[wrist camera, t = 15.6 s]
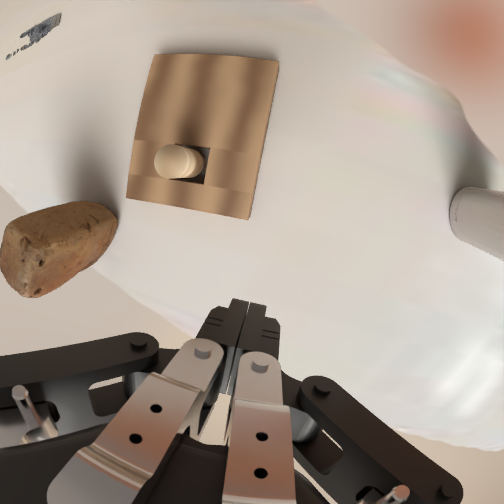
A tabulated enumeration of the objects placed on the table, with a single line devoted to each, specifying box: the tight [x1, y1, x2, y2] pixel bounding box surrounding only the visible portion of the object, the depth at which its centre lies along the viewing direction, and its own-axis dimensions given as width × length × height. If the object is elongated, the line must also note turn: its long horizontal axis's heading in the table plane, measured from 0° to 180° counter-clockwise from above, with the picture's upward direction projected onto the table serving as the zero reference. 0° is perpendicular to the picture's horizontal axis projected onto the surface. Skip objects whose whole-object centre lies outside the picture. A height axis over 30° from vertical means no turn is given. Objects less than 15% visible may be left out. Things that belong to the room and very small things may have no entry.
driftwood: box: [6, 13, 61, 60], centre depth 31 cm, size 21×7×2 cm, turn 84°
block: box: [0, 201, 118, 298], centre depth 32 cm, size 11×8×20 cm
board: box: [126, 54, 279, 220], centre depth 35 cm, size 18×22×3 cm
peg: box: [154, 144, 206, 179], centre depth 33 cm, size 4×4×10 cm
